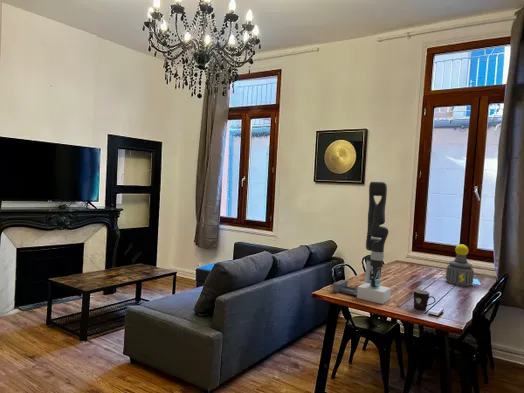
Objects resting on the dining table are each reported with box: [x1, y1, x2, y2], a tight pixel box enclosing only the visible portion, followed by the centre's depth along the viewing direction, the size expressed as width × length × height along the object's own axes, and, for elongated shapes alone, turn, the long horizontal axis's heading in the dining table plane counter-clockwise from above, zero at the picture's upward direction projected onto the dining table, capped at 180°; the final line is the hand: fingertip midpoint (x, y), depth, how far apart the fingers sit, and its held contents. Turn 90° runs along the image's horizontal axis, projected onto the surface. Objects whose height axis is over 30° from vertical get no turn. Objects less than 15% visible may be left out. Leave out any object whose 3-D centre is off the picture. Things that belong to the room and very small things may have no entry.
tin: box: [370, 278, 381, 287], centre depth 234 cm, size 6×6×4 cm
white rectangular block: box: [356, 282, 392, 305], centre depth 234 cm, size 14×16×7 cm
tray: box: [332, 279, 358, 297], centre depth 242 cm, size 14×18×5 cm
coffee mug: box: [413, 289, 436, 312], centre depth 219 cm, size 12×9×10 cm
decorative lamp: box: [445, 243, 475, 287], centre depth 293 cm, size 19×19×30 cm
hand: (374, 285), depth 234 cm, fingers closed on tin, 6 cm apart
